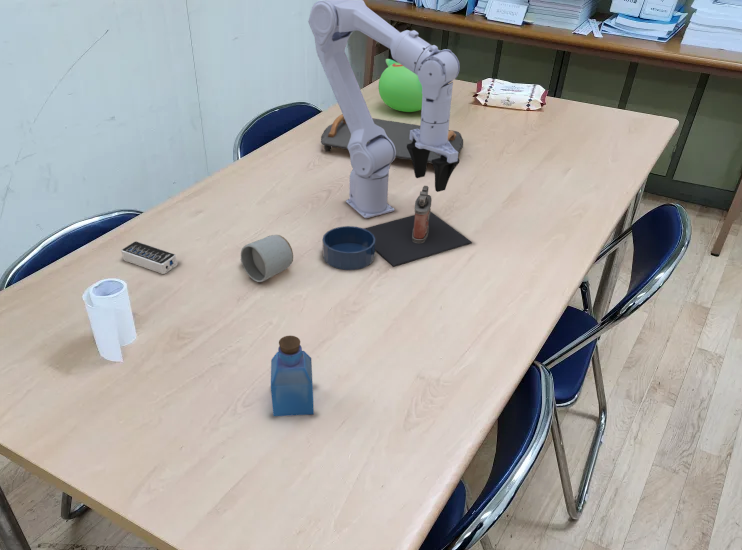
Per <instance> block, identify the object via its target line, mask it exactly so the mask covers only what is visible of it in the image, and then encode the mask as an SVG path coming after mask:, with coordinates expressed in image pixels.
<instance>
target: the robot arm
mask: <svg viewBox="0 0 742 550" xmlns="http://www.w3.org/2000/svg"><path fill="white" fill-rule="evenodd" d="M307 22H308V25H309V28H310V30H311V32H312V35H313V37H314V44H315V51H316V54H317V57H318V60H319V62H320V64H321V67H322V69H323V72H324V73H325V77H326V78H327V81H328V83H329V85H330V88H331V90H332V93H333V96H334V97H335V99H336V102H337V104H338V107H339V109H340V111H341V113H342V114H343V116H344V119H345V121H346V123H347V126H348V128H349V130H350V133H351V138H350V141H349V144H348V147H347V148H348V149H347V150H348V153H349V158H350V160H349V161H350V165H351V168H352V170H351V171H350V174H349V187H348V189H349V193H348V195H349V198H348V199H346V200H345V203H346V204H348V206H350V207H351V208H352V209H353V210H354V211H356V212H357V213H358V214H359V215H360V216H362V217H363V218H364V219H369V218H373V217H377V216H382V215H385V214H388V213H393V212H395V208H394V207H393V206H391V205H390V204H389V203H388V195H389V179H390V178H389V175H390V169H391V164H392V163H393V161H395V160H396V158H395V156H396V149H395V146H394V144H393V142H392V141H391V140H390V139H389V138H388V137H387V135H386V133H385V130H384V129H383V128H381V127H379V126H377V125H376V124H374V122H373V119H372V118H373V117H372V114H371V112H370V110H369V107H368V104H367V102H366V101H365V97H364V95H363V92H362V90H361V87H360V86H359V85H360V84H359V82H358V80H357V78H356V75H355V73H354V71H353V68H352V66H351V62H350V61H349V59H348V55H347V54H346V47H347V44H348V42H349V39H350V37H351V36H352V35H353V33H354V32H357V31H358V32H360V33H362V34H364V35H365V36H367V37H369V38H370V39H372V40H374V41H376V42H378V43H379V44H381V45H382V46H383V47H386V48H388V49H389V50H390V54H391V58H392V60H393V61H395V62H397V63H400V64H401V65H403V66H404V67H406V68H407V69H409V70H410V71H412V72H413V73H415V74H416V75H418V79H419V81H420V83H421V85H422V110H420V111H421V112H420V130H419V129H414V130H410V140H412V141H413V142H412V143H410V144H407V149H408V151H409V153H410V156H411V159H412V160H411V162H412V167H413V172H414V173H413V174H414V178H416V179H420V178H424V177H426V173H427V167H428V163H427V162H428V157H429V154H430V151H433V152H435V153H437V154H439V155H440V158H437V159H433V160H432V163H431V164H432V167H433V172H434V191H435V192H437V193H439V192H442V191H443V192H444V191H446V188H447V187H448V184H449V180H450V178H451V176H452V174H453V172H454V170H455V169H456V167H457V166H458V165H459V163H460V158H459V153H458V151H456V150H455V149H454V148H453V146H452V145H451V144H450V142H449V141H448V130H450V119H451V109H452V98H453V87H454V82H453V81H454V80H456V79H457V78H458V76H459V73H460V69H461V68H460V65H461V64H460V61H459V59H458V57H457V55H456V54H455V53H454V52H452V49H448V48H447V49H446V48H445V49H442V50H441V49H439V47H438V46H437V45H435V44H433V45H432V44H431V43H429V42H428V41H426V40H425V39H423V38H422V37H420V36H419V32H418V31H417V30H415V29H412V30H408V29H406V30H403V31H400V30H398V29H396V28H395V27H394V26H393V25H391V24H390V23H388V22H387V21H386V20H385V19H384V18H382V17H381V16H380V15H378V14H377V13H376V12H374V11H373V10H372V9H371V8H369V7H368V6H367V5H366V2H365V1H364V0H317V1H316V2H314V3H313V4H312V6H311V10H310V14H309V18H308V20H307ZM368 141H369V142H370V143H368V144H367V142H368Z"/></svg>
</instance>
